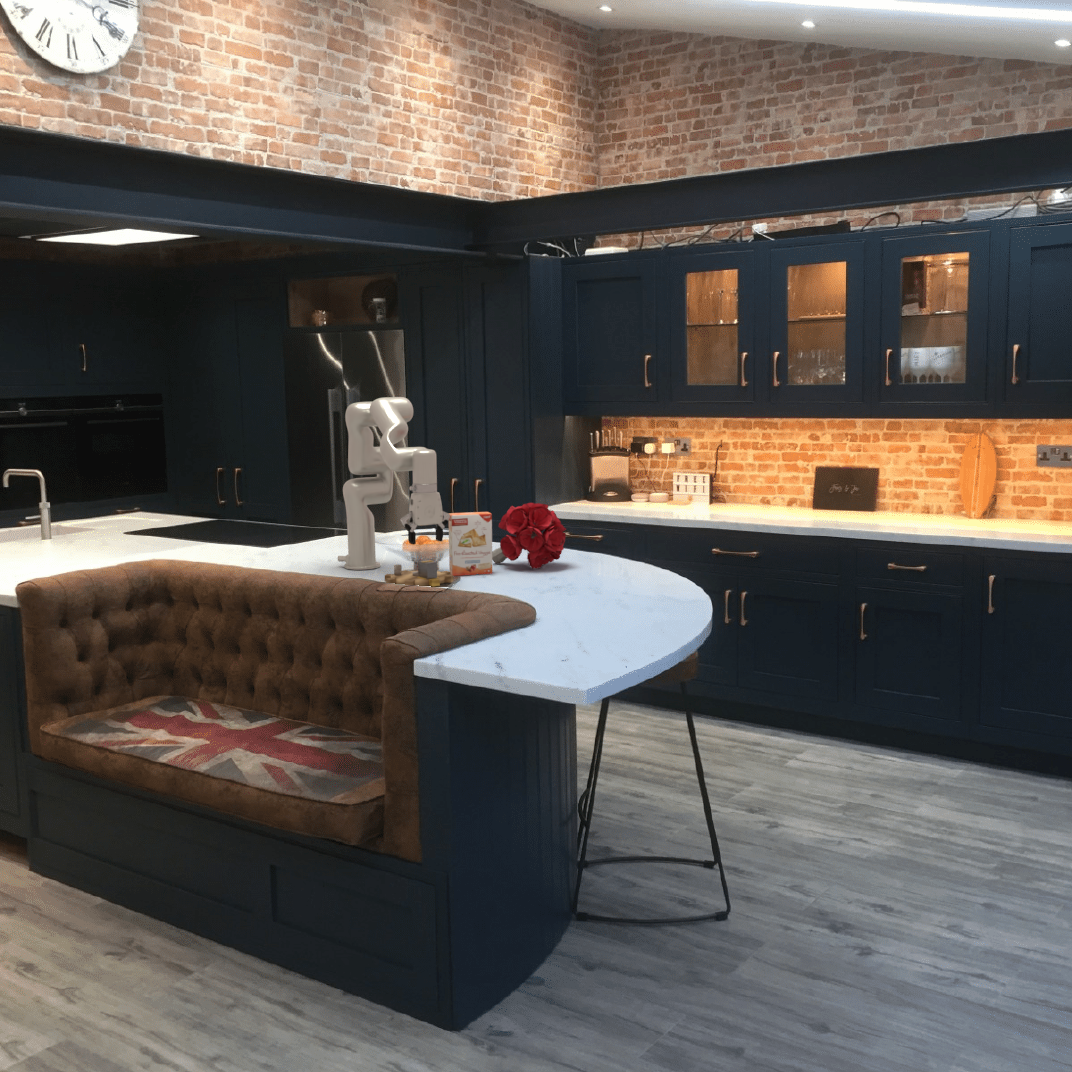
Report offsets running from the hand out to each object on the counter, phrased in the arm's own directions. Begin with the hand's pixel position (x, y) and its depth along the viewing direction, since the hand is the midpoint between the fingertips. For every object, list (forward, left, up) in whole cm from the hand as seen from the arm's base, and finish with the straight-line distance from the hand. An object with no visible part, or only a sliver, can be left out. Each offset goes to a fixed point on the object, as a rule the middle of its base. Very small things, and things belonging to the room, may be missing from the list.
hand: (425, 542), depth 372 cm
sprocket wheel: (-4, +4, -13) cm, 14 cm away
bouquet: (+25, +42, -15) cm, 51 cm away
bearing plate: (-4, +4, -15) cm, 15 cm away
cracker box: (+8, +26, -15) cm, 31 cm away
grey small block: (0, 0, -11) cm, 11 cm away
